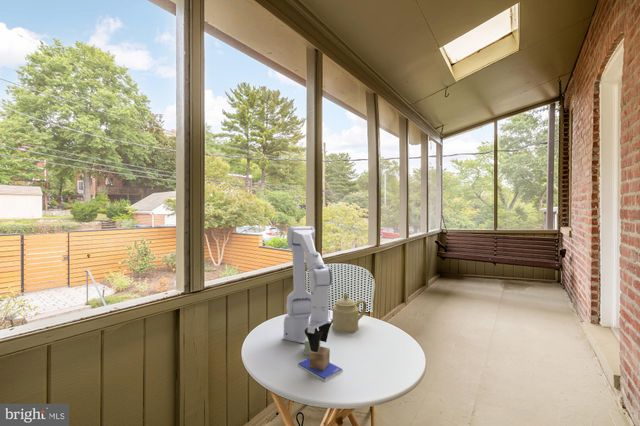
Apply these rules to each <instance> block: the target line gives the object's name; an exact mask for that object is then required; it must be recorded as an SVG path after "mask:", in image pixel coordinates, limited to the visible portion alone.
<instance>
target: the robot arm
mask: <svg viewBox="0 0 640 426" xmlns="http://www.w3.org/2000/svg"><path fill="white" fill-rule="evenodd" d="M315 238H316V229H315V227H313V226H312V225H307V226H290V225H289V227H288V228H287V232H286V240H287V241H286V242H287V243H286V244H287V248H289V249H291V252H292V277H293V278H292V279H293V280H292V281H293V290H292V291H291V292H290V293H289V294H288V295H287V296H286V304H285V307H286V315H285V316H284V319H283V337H282V340H286V341H290V342H296V343H300V344H301V343H302V344H305V339H306V336H307V338H308V340H309V344H310V348H311V351H312V352H318V349H319V343H320V344H321V342H325V343H326V342H327V340H328V335H329V334H330V333H329V332H330V328H331V327H332V325H333V318H330V317H331V311H329V307H330V305H329V302H330V301H329V298H330V286H331V285H332V283H333V273H332V270H331V268H330V267H328V265H325V261H324V259H323V257H322V255H321V253H320V252H318V251H317V250H316V247H315ZM306 268H307V271H308V282H309V291H308V290H307V286H306V283H307V282H306Z"/></svg>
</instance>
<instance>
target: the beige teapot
mask: <svg viewBox="0 0 640 426" xmlns="http://www.w3.org/2000/svg"><path fill="white" fill-rule="evenodd" d="M361 303H363V306H362V310H361V312H359V309H360V307H359V306H360V304H361ZM366 311H367V302H366V301H365V300H364V299H358V300H357V302H355V301H354V300H353V299H351V298H349V295H348V293H347V292H345V293H344V294H343V298H340V299H338V300H336V302H335V304H334V305H333V306H332V319H333V322H332V328H333V329H334V330H335V331H337V332H340V333H353V332H356V331H357V330H358V329H359V320H360V319H361V318H362V317H363V316H364V315H365V313H366Z"/></svg>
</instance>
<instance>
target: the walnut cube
mask: <svg viewBox="0 0 640 426" xmlns="http://www.w3.org/2000/svg"><path fill="white" fill-rule="evenodd" d="M330 349H331V348H329V347H325V346H321V345H320V346H319V349H318V352H312V351H310V355H309V358H310V362H309V367H311V368H315V369H319V370H323V371H324V370H325V368H326V367H327V366H328V364H329V362H330V358H331V357H330V354H331V353H330V352H331V351H330Z"/></svg>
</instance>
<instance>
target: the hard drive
mask: <svg viewBox="0 0 640 426" xmlns="http://www.w3.org/2000/svg"><path fill="white" fill-rule="evenodd" d="M309 362H310V357H308V358H306V359H303V360H301V361H300V362H298V364H297V366H298V367H300V368H301V369H303V370H305V371H306V372H308V373H310V374H312V375H314V376H315V377H317V378H318V379H321V380H322V381H324V382H327V381H328V380H330V379H332V378H334V377H335V376H337V375H338V374H341V373H342V372H343V368H341V367H339V366H337V365H335V364H334V363H331V362H330V361H329V364H328V366H327V367H326V368H325V370H324V371H323V370H319V369H315V368H311V367H309Z"/></svg>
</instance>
